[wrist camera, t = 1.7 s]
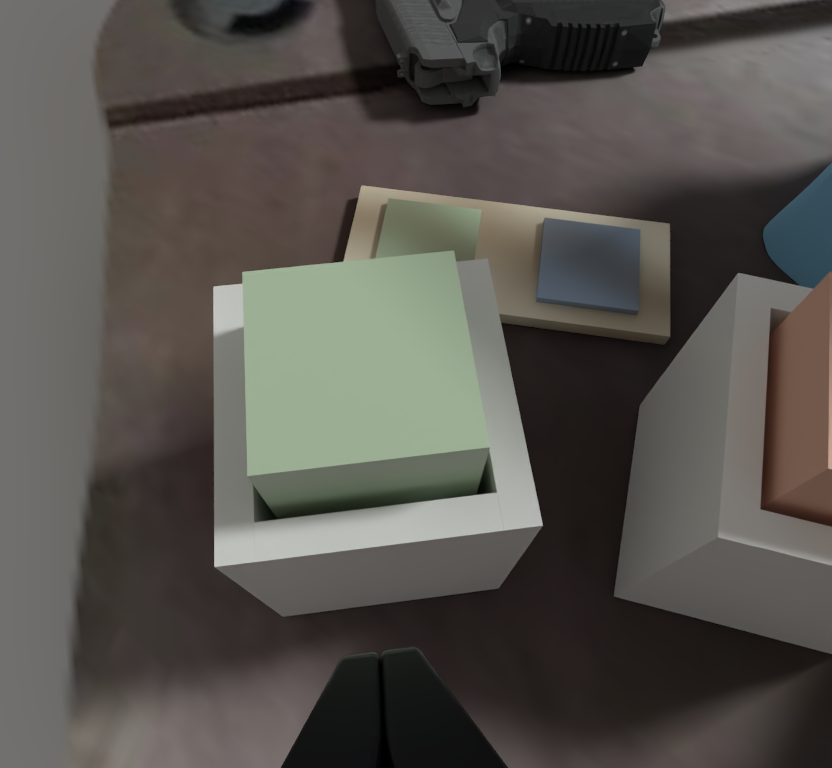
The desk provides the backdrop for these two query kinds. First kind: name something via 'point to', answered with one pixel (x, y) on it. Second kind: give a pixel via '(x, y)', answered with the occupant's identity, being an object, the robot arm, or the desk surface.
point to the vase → (804, 234)
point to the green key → (360, 385)
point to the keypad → (517, 500)
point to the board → (533, 258)
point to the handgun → (512, 40)
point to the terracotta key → (800, 412)
